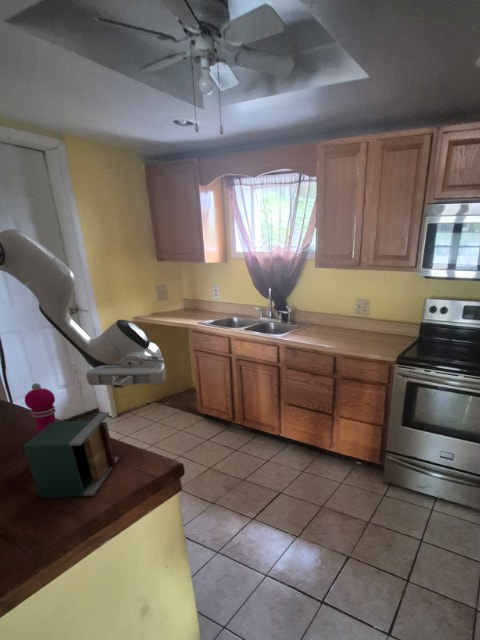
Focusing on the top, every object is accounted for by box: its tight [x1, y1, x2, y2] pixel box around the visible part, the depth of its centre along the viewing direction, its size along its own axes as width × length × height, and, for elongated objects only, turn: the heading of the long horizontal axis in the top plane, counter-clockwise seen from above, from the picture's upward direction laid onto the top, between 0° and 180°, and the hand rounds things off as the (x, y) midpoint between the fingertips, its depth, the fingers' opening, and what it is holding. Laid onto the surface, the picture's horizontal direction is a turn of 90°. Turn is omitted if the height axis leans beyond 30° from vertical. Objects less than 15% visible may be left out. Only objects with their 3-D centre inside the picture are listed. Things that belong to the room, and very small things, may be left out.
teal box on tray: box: [22, 411, 120, 499], centre depth 85 cm, size 11×15×13 cm
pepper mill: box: [24, 382, 58, 437], centre depth 92 cm, size 7×7×20 cm
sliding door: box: [83, 421, 117, 481], centre depth 85 cm, size 2×7×11 cm, turn 4°
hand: (117, 385), depth 96 cm, fingers closed
